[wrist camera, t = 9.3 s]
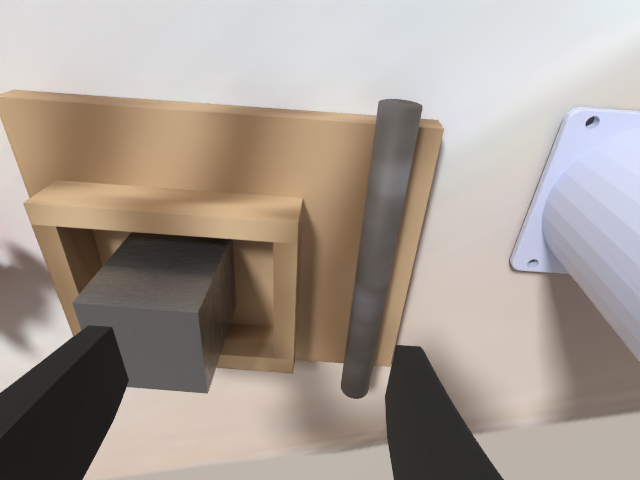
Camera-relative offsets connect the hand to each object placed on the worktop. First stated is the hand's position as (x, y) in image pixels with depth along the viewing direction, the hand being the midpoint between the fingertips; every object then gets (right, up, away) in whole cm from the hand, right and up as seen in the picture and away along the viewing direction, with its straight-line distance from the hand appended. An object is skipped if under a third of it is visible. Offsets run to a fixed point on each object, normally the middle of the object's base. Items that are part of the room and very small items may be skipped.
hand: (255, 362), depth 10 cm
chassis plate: (-3, +3, +10) cm, 11 cm away
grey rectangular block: (-5, +2, +10) cm, 11 cm away
